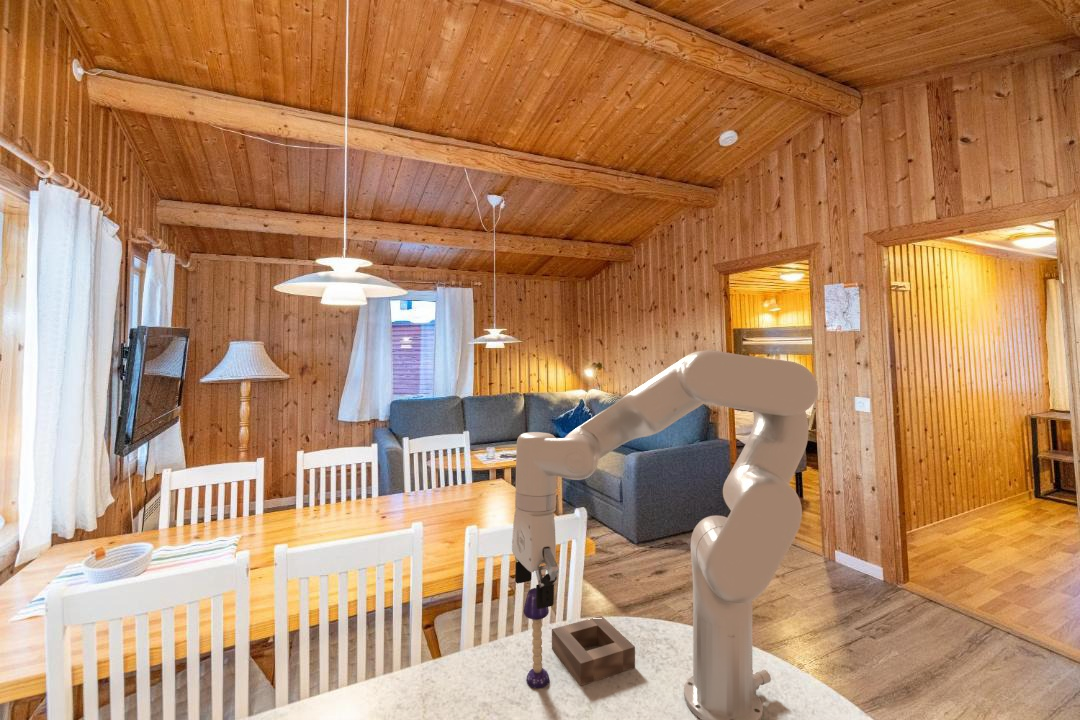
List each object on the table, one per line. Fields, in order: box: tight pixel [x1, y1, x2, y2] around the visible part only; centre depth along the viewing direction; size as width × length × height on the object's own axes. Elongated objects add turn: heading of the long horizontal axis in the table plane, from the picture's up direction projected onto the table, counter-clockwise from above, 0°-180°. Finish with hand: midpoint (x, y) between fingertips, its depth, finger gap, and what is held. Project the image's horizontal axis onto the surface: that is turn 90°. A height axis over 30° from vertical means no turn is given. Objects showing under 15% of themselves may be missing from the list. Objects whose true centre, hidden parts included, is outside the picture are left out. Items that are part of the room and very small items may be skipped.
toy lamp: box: [523, 587, 550, 689], centre depth 85 cm, size 5×5×17 cm
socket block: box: [551, 615, 636, 686], centre depth 92 cm, size 12×12×4 cm
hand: (533, 593), depth 85 cm, fingers open, 9 cm apart
